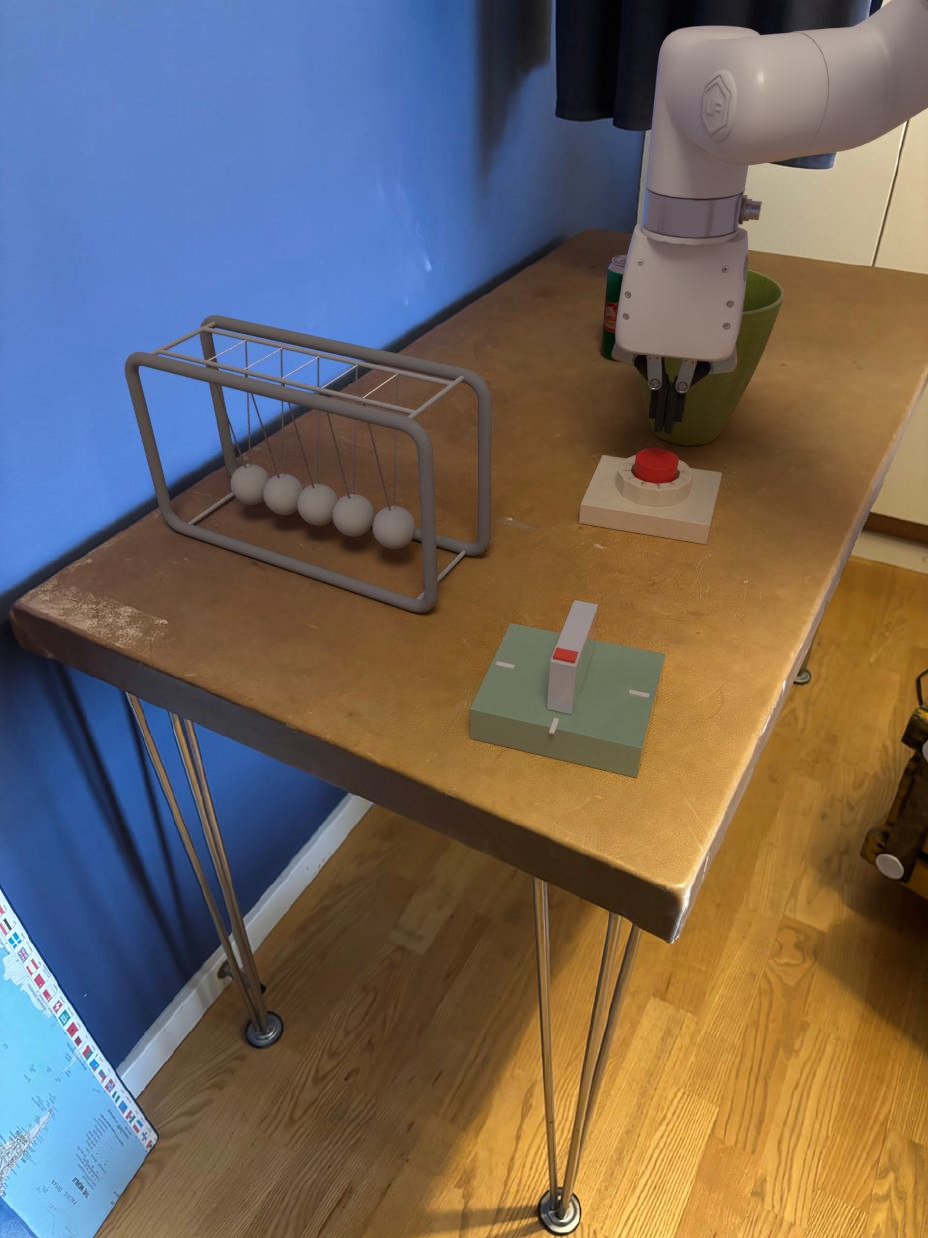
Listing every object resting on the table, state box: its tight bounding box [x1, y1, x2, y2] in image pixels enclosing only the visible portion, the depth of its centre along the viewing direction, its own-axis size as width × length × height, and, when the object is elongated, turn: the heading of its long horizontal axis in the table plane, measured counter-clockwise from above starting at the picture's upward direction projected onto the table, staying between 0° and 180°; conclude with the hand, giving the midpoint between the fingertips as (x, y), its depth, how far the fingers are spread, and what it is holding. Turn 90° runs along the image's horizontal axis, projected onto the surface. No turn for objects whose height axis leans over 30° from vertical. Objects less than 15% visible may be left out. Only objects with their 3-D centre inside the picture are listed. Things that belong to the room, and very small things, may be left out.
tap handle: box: [547, 599, 599, 714], centre depth 64 cm, size 7×2×5 cm, turn 161°
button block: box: [578, 454, 723, 545], centre depth 88 cm, size 12×10×4 cm
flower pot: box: [638, 268, 785, 447], centre depth 96 cm, size 15×15×16 cm
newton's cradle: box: [124, 314, 493, 614], centre depth 79 cm, size 30×10×18 cm, turn 61°
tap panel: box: [469, 622, 666, 779], centre depth 66 cm, size 12×11×3 cm
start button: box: [634, 448, 680, 484], centre depth 86 cm, size 4×4×2 cm
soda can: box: [600, 254, 627, 362], centre depth 114 cm, size 5×5×12 cm
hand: (664, 426), depth 83 cm, fingers closed
